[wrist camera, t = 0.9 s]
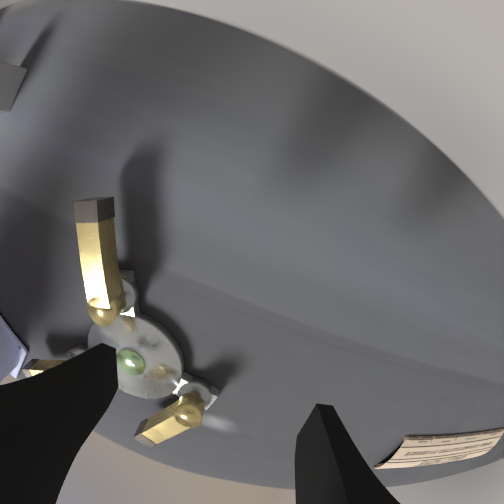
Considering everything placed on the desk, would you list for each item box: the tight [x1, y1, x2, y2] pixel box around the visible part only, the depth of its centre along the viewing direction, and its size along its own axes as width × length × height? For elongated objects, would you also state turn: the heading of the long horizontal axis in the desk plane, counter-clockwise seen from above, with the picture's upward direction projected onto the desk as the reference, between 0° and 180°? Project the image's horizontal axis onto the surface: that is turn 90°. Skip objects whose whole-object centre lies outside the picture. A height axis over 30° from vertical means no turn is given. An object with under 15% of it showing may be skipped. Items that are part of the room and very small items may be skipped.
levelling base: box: [67, 270, 219, 410], centre depth 20 cm, size 13×12×1 cm
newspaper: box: [374, 429, 504, 469], centre depth 23 cm, size 24×7×2 cm, turn 72°
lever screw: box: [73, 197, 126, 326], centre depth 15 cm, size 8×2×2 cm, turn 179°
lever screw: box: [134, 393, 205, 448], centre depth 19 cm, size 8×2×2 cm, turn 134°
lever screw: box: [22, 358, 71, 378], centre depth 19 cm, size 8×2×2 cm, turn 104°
